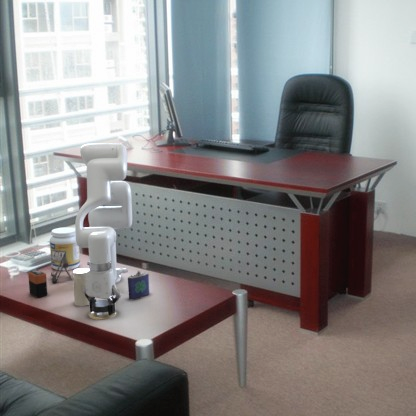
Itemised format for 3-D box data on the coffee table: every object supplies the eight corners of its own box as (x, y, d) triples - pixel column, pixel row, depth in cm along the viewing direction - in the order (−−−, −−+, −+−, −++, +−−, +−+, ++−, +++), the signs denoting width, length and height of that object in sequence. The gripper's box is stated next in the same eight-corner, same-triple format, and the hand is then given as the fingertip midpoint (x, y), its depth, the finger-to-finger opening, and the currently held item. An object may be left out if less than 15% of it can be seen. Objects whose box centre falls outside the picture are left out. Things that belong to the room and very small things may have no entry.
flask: (147, 293, 268) (146, 267, 266) (151, 294, 266) (150, 269, 264) (127, 298, 262) (126, 272, 259) (131, 300, 260) (130, 274, 257)
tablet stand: (50, 277, 284) (49, 258, 282) (70, 275, 287) (69, 256, 285) (52, 283, 276) (51, 264, 274) (72, 281, 279) (71, 262, 277)
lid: (97, 314, 240) (96, 308, 240) (88, 308, 246) (88, 302, 245) (116, 309, 245) (115, 303, 245) (107, 304, 250) (107, 298, 250)
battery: (37, 298, 260) (35, 273, 258) (29, 293, 265) (27, 269, 262) (48, 295, 263) (46, 271, 261) (39, 291, 268) (38, 267, 265)
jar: (87, 299, 261) (85, 267, 258) (94, 303, 256) (92, 271, 253) (72, 302, 257) (70, 270, 254) (78, 307, 252) (76, 274, 249)
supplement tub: (46, 270, 293) (43, 232, 289) (60, 261, 305) (57, 225, 301) (72, 272, 291) (69, 234, 287) (85, 263, 303) (83, 227, 299)
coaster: (109, 307, 253) (109, 306, 253) (121, 315, 246) (121, 314, 245) (83, 313, 246) (83, 312, 246) (95, 321, 239) (95, 320, 239)
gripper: (73, 266, 241) (76, 312, 245) (115, 272, 236) (116, 319, 240) (86, 260, 248) (88, 305, 252) (127, 266, 242) (128, 312, 246)
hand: (102, 312), depth 246 cm, fingers closed on lid, 7 cm apart
